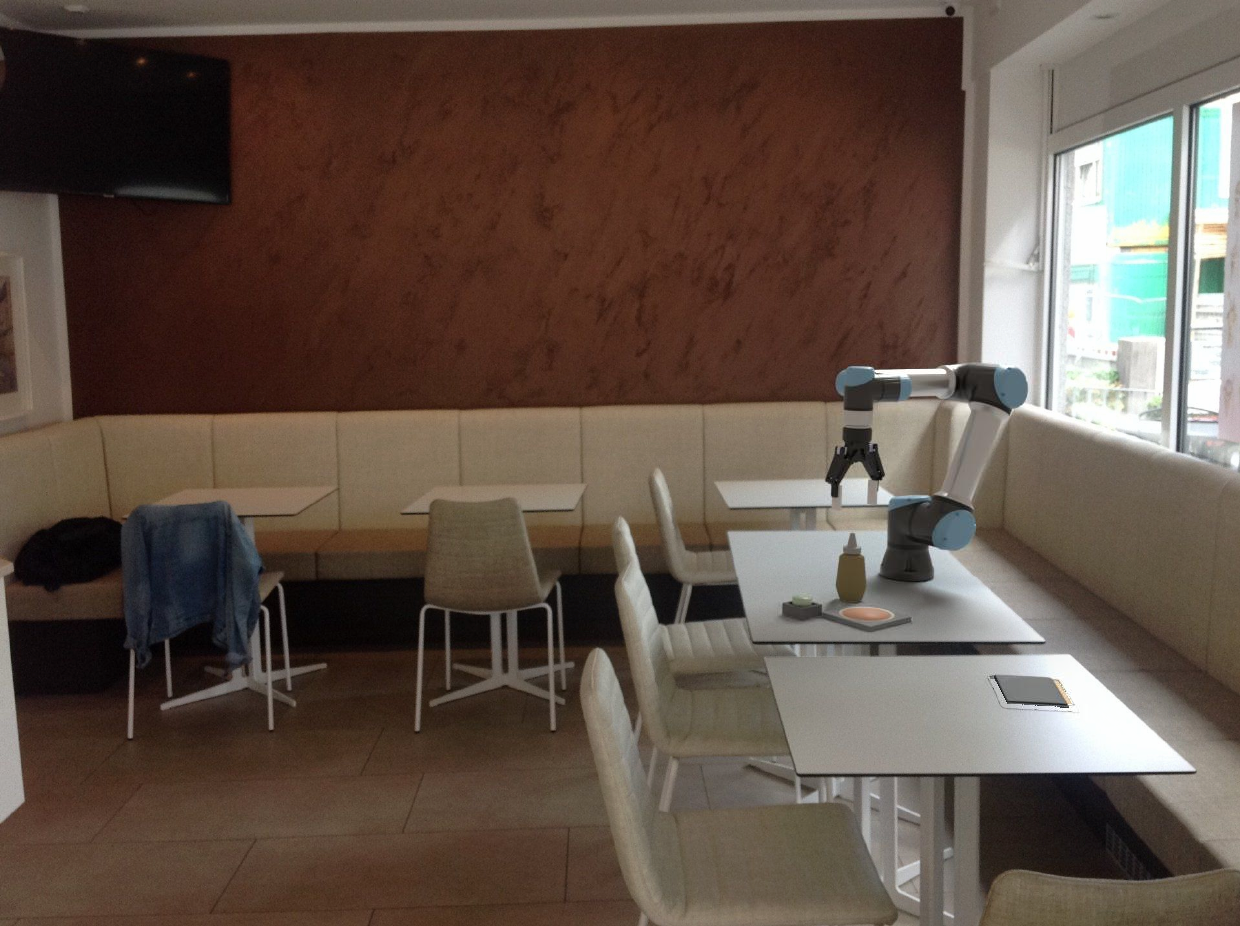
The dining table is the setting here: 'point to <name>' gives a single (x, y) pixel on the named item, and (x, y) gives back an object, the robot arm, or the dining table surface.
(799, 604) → the button
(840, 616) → the print board
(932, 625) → the dining table surface
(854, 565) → the squeeze bottle
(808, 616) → the button housing
